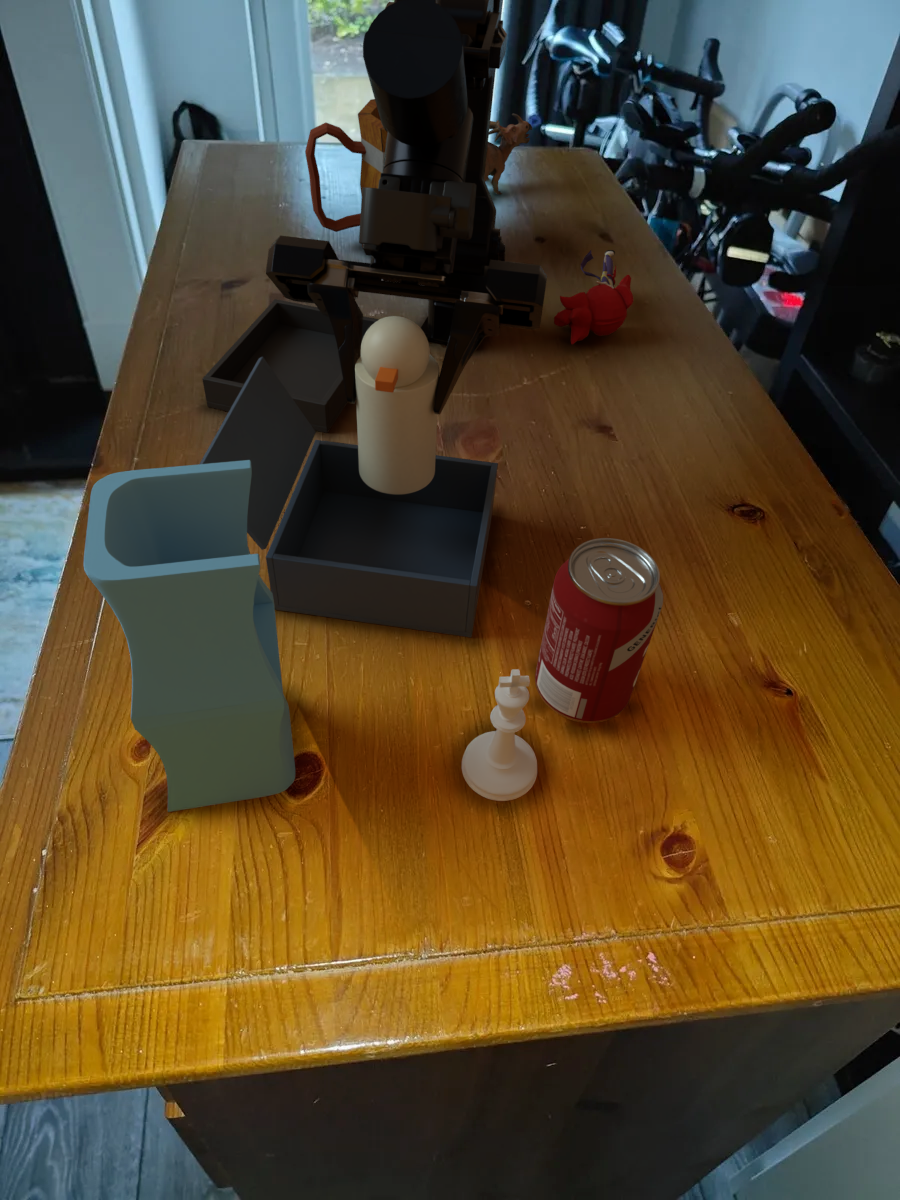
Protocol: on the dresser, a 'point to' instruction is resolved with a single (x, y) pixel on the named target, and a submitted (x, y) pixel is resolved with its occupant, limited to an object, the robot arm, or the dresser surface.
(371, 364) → the duck
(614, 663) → the soda can
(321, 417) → the tray
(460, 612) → the dark square open box
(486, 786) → the chess piece
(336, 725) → the dresser surface
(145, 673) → the vase
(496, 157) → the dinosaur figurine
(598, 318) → the figurine
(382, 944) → the dresser surface
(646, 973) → the dresser surface
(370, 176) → the mug
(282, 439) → the flap
